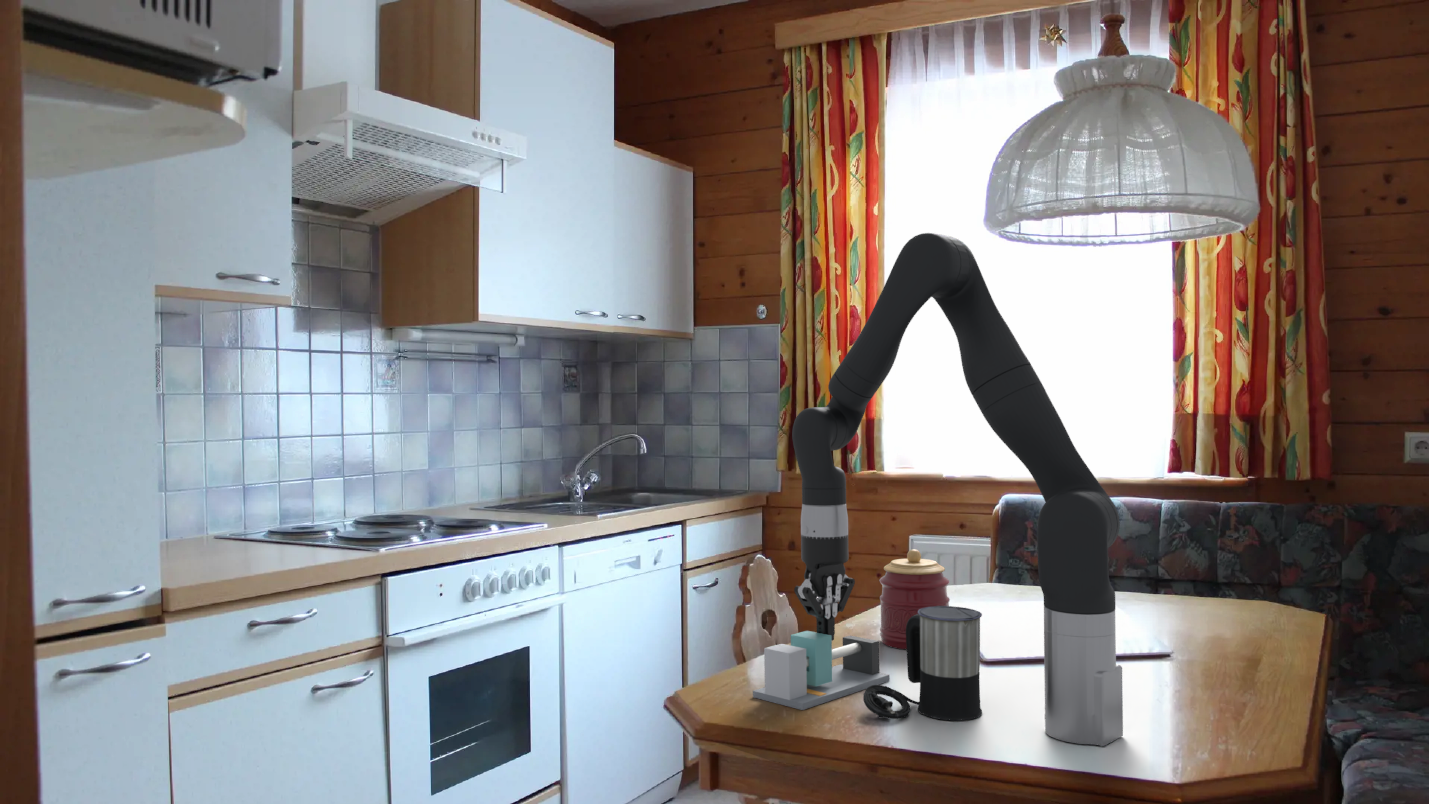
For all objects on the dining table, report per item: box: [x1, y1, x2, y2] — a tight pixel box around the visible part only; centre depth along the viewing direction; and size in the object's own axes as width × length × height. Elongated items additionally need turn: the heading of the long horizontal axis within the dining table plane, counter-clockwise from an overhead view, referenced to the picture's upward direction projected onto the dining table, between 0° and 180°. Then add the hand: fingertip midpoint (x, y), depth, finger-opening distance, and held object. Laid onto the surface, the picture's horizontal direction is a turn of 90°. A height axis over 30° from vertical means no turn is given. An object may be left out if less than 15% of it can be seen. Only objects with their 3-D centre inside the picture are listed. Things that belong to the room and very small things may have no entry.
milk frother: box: [862, 605, 983, 722], centre depth 153 cm, size 14×16×15 cm
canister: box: [878, 548, 951, 650], centre depth 197 cm, size 13×13×18 cm
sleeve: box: [790, 630, 833, 686], centre depth 164 cm, size 5×4×7 cm
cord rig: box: [752, 635, 891, 711], centre depth 166 cm, size 10×22×8 cm, turn 135°
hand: (825, 640), depth 167 cm, fingers closed
